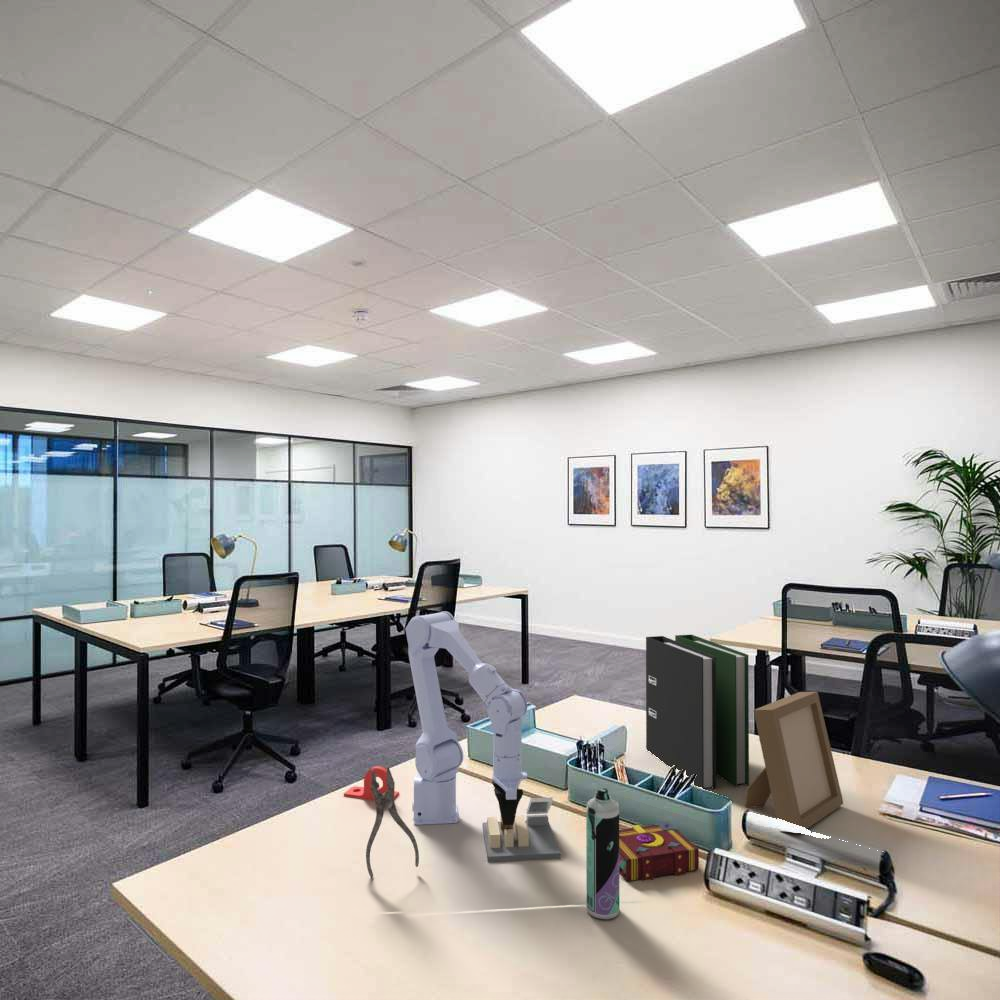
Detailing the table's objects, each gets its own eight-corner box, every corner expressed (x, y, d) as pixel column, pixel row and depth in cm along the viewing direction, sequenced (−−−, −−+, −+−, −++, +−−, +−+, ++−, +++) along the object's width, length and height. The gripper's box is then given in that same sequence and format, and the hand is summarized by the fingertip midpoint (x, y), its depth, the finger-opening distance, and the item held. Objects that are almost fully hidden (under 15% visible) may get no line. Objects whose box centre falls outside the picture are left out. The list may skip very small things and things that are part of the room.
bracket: (399, 796, 157) (399, 762, 157) (390, 804, 153) (390, 769, 153) (353, 790, 160) (353, 757, 161) (343, 798, 156) (343, 764, 156)
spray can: (611, 923, 109) (611, 799, 109) (581, 912, 112) (581, 791, 112) (624, 906, 113) (624, 787, 114) (594, 896, 116) (594, 780, 117)
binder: (751, 787, 162) (751, 654, 163) (697, 793, 159) (696, 658, 159) (692, 748, 189) (691, 634, 189) (644, 753, 185) (643, 637, 185)
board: (487, 861, 128) (487, 843, 128) (482, 827, 142) (482, 810, 142) (560, 858, 129) (560, 839, 129) (547, 824, 143) (547, 807, 143)
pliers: (417, 874, 124) (424, 765, 125) (418, 876, 123) (424, 767, 124) (364, 876, 122) (371, 766, 123) (364, 879, 122) (371, 767, 122)
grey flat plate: (531, 802, 135) (530, 797, 136) (526, 814, 141) (526, 809, 142) (552, 801, 136) (552, 796, 136) (547, 814, 142) (546, 809, 143)
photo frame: (843, 807, 151) (842, 696, 151) (799, 839, 137) (798, 716, 137) (779, 787, 162) (779, 683, 163) (732, 814, 148) (732, 700, 148)
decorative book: (700, 872, 125) (700, 845, 125) (621, 885, 120) (621, 857, 120) (668, 843, 135) (668, 818, 136) (595, 854, 131) (595, 828, 131)
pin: (501, 832, 134) (501, 802, 134) (499, 826, 136) (499, 796, 136) (514, 831, 134) (514, 801, 134) (512, 825, 137) (512, 795, 137)
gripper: (532, 765, 129) (532, 837, 128) (522, 739, 143) (522, 803, 143) (495, 767, 128) (495, 838, 128) (489, 740, 142) (489, 805, 142)
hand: (507, 820), depth 135 cm, fingers closed on pin, 3 cm apart
